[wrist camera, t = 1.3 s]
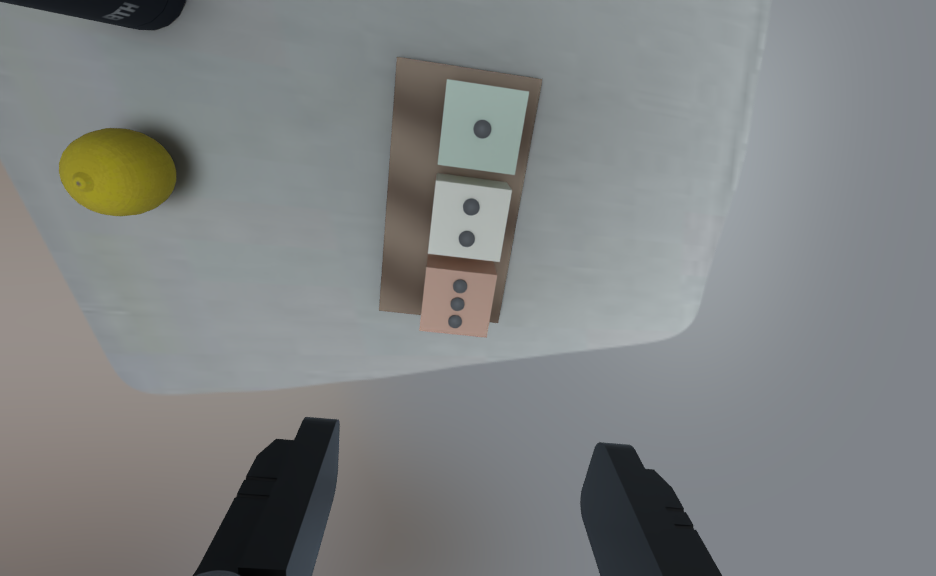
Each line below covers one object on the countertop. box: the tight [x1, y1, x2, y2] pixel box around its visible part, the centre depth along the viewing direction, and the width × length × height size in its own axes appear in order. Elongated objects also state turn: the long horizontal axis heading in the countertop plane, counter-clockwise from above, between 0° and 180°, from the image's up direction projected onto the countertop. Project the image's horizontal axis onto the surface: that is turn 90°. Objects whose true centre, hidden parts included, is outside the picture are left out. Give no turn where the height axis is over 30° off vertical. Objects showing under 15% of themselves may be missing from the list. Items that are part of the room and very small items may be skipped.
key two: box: [428, 173, 512, 262], centre depth 32 cm, size 5×5×3 cm
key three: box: [419, 254, 497, 338], centre depth 35 cm, size 5×5×3 cm
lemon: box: [59, 128, 176, 216], centre depth 31 cm, size 6×6×8 cm
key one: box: [438, 79, 529, 175], centre depth 30 cm, size 5×5×3 cm
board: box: [379, 57, 542, 323], centre depth 36 cm, size 19×10×1 cm, turn 172°
